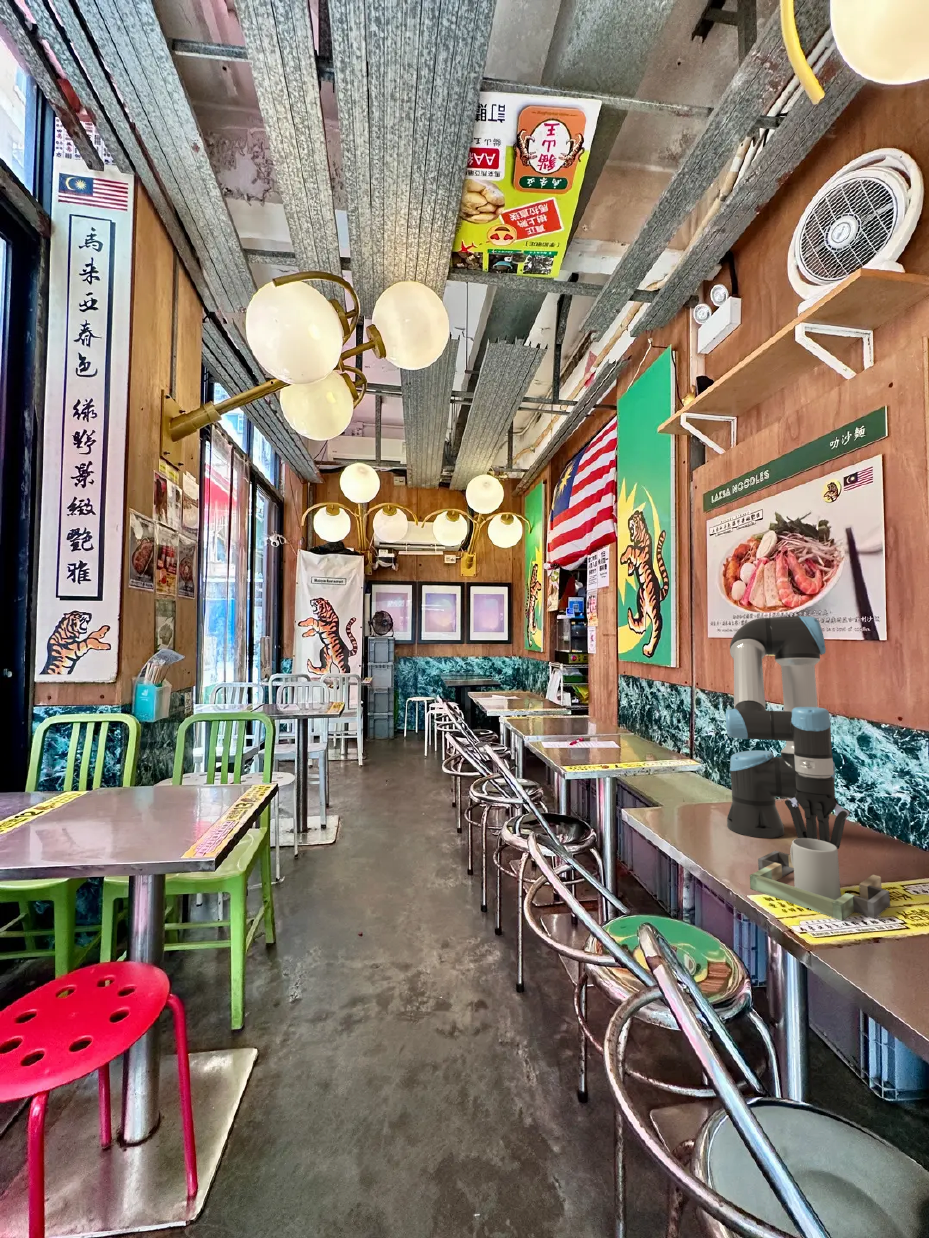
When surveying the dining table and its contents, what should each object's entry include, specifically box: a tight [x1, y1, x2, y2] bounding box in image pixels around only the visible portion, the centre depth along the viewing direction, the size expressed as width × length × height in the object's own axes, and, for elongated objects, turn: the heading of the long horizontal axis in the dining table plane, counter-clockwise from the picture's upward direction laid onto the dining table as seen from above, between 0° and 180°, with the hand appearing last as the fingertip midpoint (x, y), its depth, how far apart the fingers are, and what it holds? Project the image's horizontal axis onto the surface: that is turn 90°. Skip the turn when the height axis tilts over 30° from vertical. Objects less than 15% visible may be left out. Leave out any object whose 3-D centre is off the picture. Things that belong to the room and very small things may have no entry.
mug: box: [789, 837, 842, 900], centre depth 117 cm, size 12×8×11 cm
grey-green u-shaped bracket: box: [749, 850, 891, 921], centre depth 118 cm, size 22×25×3 cm
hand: (821, 878), depth 120 cm, fingers closed
